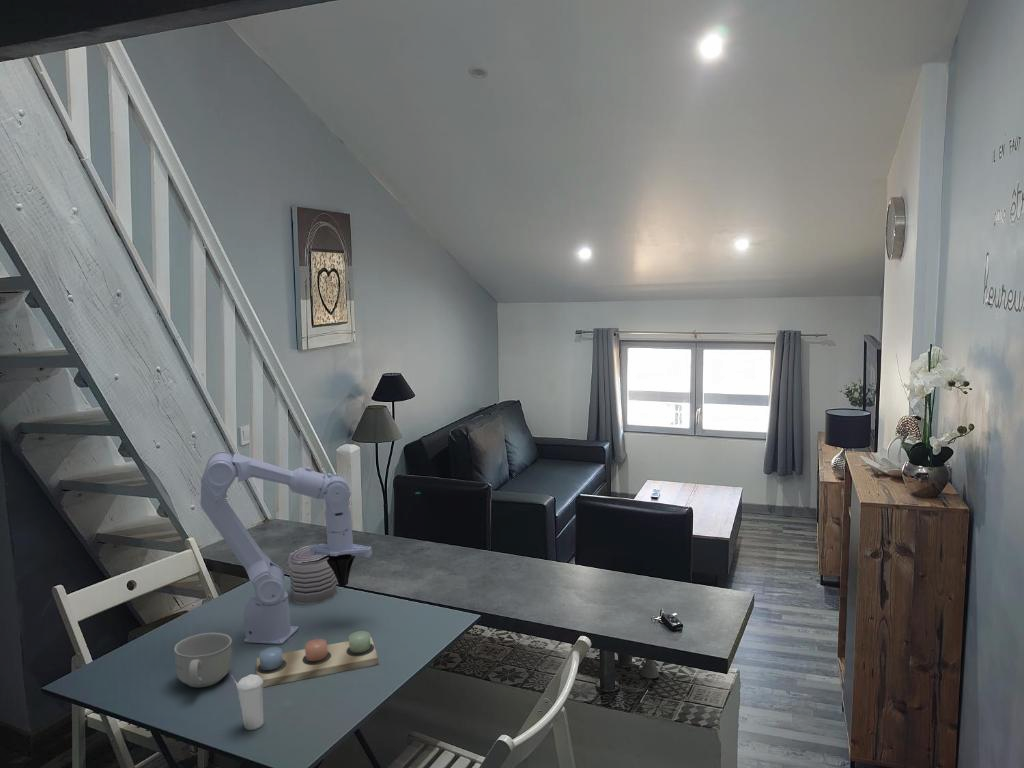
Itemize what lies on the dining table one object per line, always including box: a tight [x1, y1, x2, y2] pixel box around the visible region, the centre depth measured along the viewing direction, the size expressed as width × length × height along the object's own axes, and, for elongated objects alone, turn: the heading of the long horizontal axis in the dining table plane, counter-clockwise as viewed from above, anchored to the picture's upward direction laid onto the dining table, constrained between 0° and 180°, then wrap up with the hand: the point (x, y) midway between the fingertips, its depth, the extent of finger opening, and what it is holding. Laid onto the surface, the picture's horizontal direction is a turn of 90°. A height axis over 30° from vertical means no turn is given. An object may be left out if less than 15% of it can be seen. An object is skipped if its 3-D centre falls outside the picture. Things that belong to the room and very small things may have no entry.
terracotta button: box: [304, 638, 328, 661], centre depth 155 cm, size 4×4×3 cm
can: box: [287, 543, 338, 606], centre depth 191 cm, size 11×11×12 cm
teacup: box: [173, 632, 233, 688], centre depth 150 cm, size 14×11×8 cm
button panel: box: [255, 636, 379, 688], centre depth 156 cm, size 24×10×2 cm, turn 108°
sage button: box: [348, 630, 371, 653], centre depth 158 cm, size 4×4×3 cm
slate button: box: [258, 646, 283, 670], centre depth 153 cm, size 4×4×3 cm
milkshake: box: [230, 673, 264, 731], centre depth 134 cm, size 4×5×10 cm
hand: (343, 585), depth 173 cm, fingers closed
